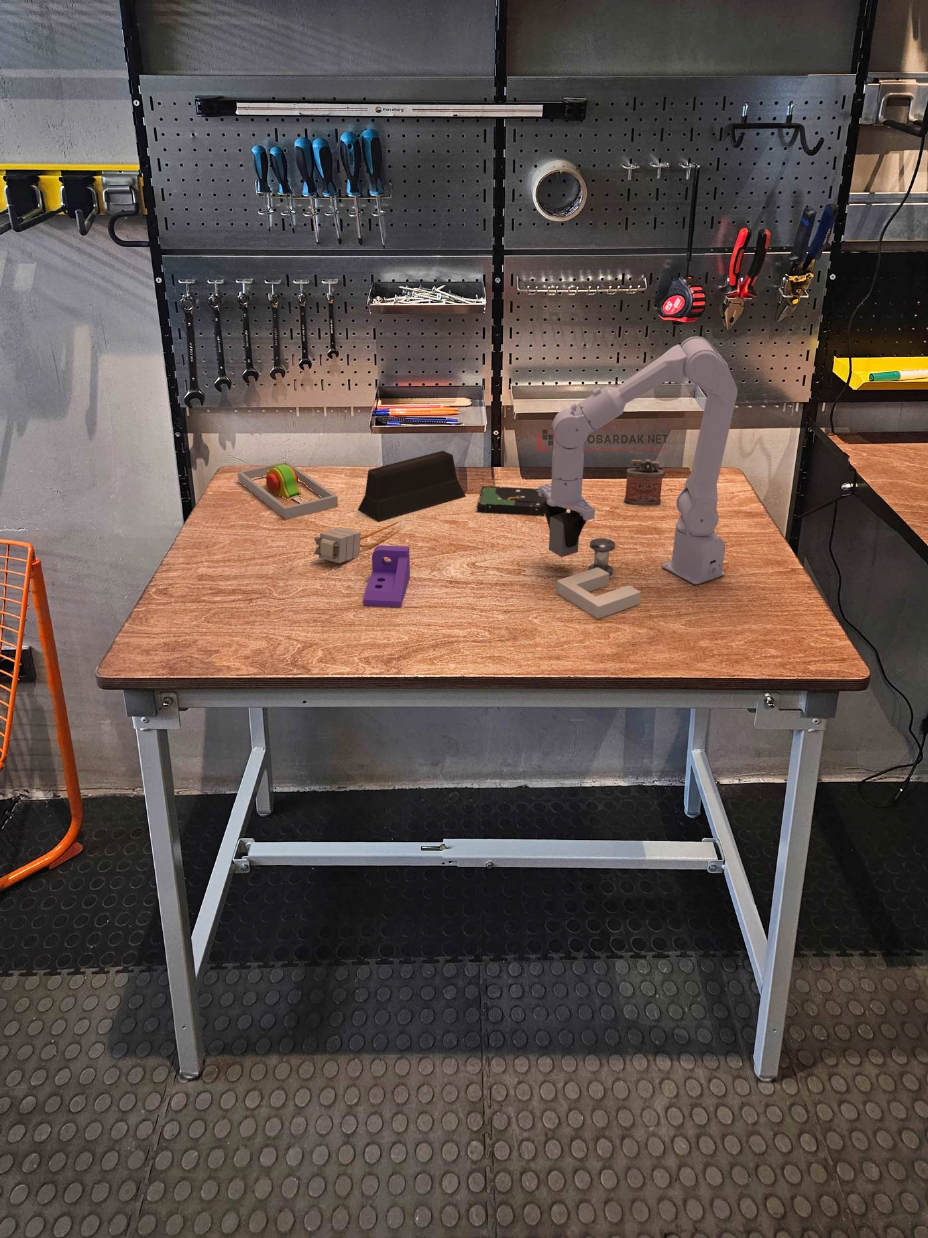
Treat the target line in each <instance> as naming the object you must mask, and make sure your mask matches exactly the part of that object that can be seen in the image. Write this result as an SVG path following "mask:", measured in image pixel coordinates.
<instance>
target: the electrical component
mask: <svg viewBox="0 0 928 1238" xmlns="http://www.w3.org/2000/svg"><path fill="white" fill-rule="evenodd" d="M401 522H402V520H399V521H396V522H394V523H391V524H388V525H386V526H384V527H382V528H380V529H378V530H375V531H373V532H371V533H369V534H366V535H363V536H361V535H362V534H361V533H362V532H361V531H357V530H353V529H349V528H344V527H342V526H341V527H337V528H332V529H330V530H327V531H322V532H320V533H319V536H316V537H314V542H315V545H316V546H318V547H315V551H314V553H313V554H314V555H317V556H318V558H319V559H322V560H326V561H330V562H334V563H337V564H341V563H343V562H346V561H351V560H352V559H356V558H358V557H360V549H361V548H371V547H374V546H378V545H379V544H381V543H383V542H385V541H387V540H389V539H391V538H393V536H395V535H396V534H397V533H399V532H400V531H401V530H403V529H404V528H406V526H404V525H403V526H402V527H401V528H400V529H398V530H397V531H395V532H393V533H392V534H391V535H389V536H388V537H386V538H384V539H382V540H380V541H378V542H375V543H372V544H368V545H364V544H361V540H364V539H366V538H370V537H371V536H373V535H376V534H378V533H380V532H382V531H384V530H386V529H389V528H391V527H393V526H396V525H397V524H400V523H401Z"/></svg>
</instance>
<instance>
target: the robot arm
mask: <svg viewBox="0 0 928 1238" xmlns="http://www.w3.org/2000/svg"><path fill="white" fill-rule="evenodd" d="M685 377H686V378H687V379H688V381H690V383H692V384H694V385H695V386H697V387H699V388H700V389H702V390H703V391H704V393H705V394H706V398H705V399H706V400H705V404H704V410H703V413H702V418H701V424H700V428H699V432H698V437H697V442H696V447H695V451H694V455H693V456H694V457H693V461H692V466H691V470H690V475H689V476H688V477H687V478H686V480H685V484H684V487H683V489H682V490H681V491H680V493H679V494H678V496H677V498H676V503H675V504H676V508H677V511H678V512H679V513H680V515H679V518H678V519H677V521H676V523H675V530H674V540H673V549H672V557H671V561H667V562H664V563H661V568H663V569H665V570H667V571H668V572H671V573H672V574H674V575H676V576H678V577H680V578H682V579H684V580H685V581H687V582H689V583H691V584H693V585H695V586H696V585H699V584H702V583H705V582H708V581H711V580H714V579H716V578H719V577H722V576H724V575H725V571H723V568H724V567H723V565H724V560H725V552H726V543H725V540H723V539H722V538H721V537H719V535H718V534H717V533H716V530H715V529H716V528H717V525H718V524H719V519H720V517H719V512H718V510H717V505H718V502H719V501H718V500H719V498H718V494H719V493H718V481H719V476H720V472H721V467H722V463H723V458H724V454H725V449H726V446H727V443H728V442H727V441H728V437H729V432H730V428H731V423H732V419H733V414H734V410H735V407H736V400H737V398H738V386H737V385H736V383H735V380H734V378H733V375H732V374H731V370H730V368H729V365H728V362H727V361H726V360H725V359H724V358H723V357H722V356H721V354H720V353H719V351H718V350H717V349H716V347H715V346H714V345H713V344H712V343H710V341H708V339H706V338H704V337H702V336H698V335H697V336H691V337H688V338H687V339H685V340H684V341H682V342H681V344H676V345H674V346H672V347H670V348H669V349H668V350H666V351H665V353H663V354H662V355H661V356H660V357H657V358H656V359H655V360H654V361H653V362H650V363H649V364H648V365H647V366H645V367H644V368H642V369H641V370H639V371H638V372H636V373H635V374H633V375H632V376H631V377H629V378H628V379H626V380H625V381H624V382H623V383H620V384H619V385H618V386H616V387H613V386H609V385H606V386H604V387H603V388H600V387H599V386H597V387H596V388H595V389H593V390H592V393H593V394H591V395H589V396H588V397H587V398H585V399H583V400H582V401H580V402H579V403H577V404H576V403H573V404H571V405H570V408H568V409H567V408H565V409H564V408H563V409H562V410H560V411H558V413H557V414H556V415H555V417H554V419H553V421H552V422H551V427H552V430H553V433H554V440H553V450H552V458H551V459H552V462H551V464H552V465H551V483H550V484H551V485H550V484H548V483H546V484H541V485H539V486H538V488H537V489H538V495H539V496H540V497H543V496H545V497H546V498H547V500H546V502H545V503H542V504H541V508H542V510H543V512H544V517H545V518H546V519H545V520H546V521H547V525H548V528H549V529H548V530H549V531H550V516H554V515H557V514H561V513H564V512H568V510H569V512H568V513H565V514H562V515H561V518H562V520H563V523H564V528H565V543H566V547H568V548H570V547H573V546H576V545H577V542H578V539H579V540H580V535H581V532H582V531H583V528H584V527H585V525H586V523H587V522H588V521H590V520H594V519H595V516H596V515H595V512H596V508H595V507H593V506H591V505H590V504H589V503H588V502H587V501H586V499H585V498H584V497H583V496H582V492H583V480H584V479H583V478H584V477H583V475H584V463H585V462H584V460H585V459H584V458H585V452H584V445H585V442H586V441H587V439H588V436H589V434H592V433H594V432H595V431H597V430H598V429H601V428H602V427H603V426H605V425H607V424H609V423H610V422H612V421H613V420H615V419H616V418H618V417H620V416H621V415H622V414H623V413H624V411H625V407H626V405H627V404H628V403H630V402H632V401H633V400H636V399H637V398H638V397H640V396H642V395H644V394H646V393H647V392H649V391H652V390H653V389H655V388H656V387H658V386H661V385H662V384H664V383H667V382H668V383H675V384H676V383H677V384H686V381H685V379H684V378H685Z"/></svg>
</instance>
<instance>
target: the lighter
mask: <svg viewBox="0 0 928 1238" xmlns="http://www.w3.org/2000/svg"><path fill="white" fill-rule="evenodd" d="M630 467H633V468H626V485H625V496H624V499H623V503H624V504H627V505H632V506H644V507H645V506H647V507H648V506H651V507H652V506H659V505H661V503H662V499H661V496H662V495H661V494H662V484H663V478H664V477H663V476H664V474H665V471H664V470H663V469H659V467H660V462H659V461H656V460H655V461H654V460H651V459H650V458H646V459H645V460H642V459H632V460H630Z"/></svg>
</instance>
